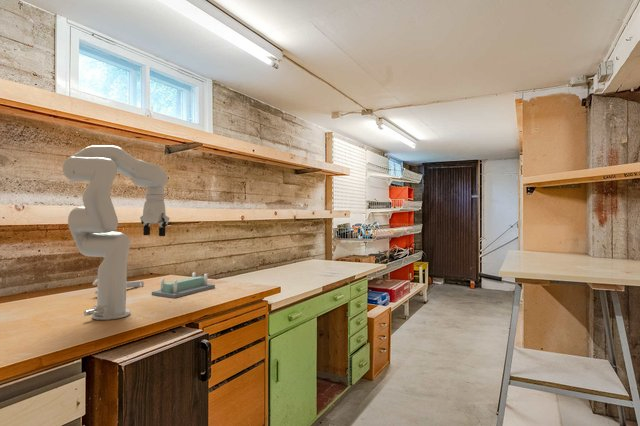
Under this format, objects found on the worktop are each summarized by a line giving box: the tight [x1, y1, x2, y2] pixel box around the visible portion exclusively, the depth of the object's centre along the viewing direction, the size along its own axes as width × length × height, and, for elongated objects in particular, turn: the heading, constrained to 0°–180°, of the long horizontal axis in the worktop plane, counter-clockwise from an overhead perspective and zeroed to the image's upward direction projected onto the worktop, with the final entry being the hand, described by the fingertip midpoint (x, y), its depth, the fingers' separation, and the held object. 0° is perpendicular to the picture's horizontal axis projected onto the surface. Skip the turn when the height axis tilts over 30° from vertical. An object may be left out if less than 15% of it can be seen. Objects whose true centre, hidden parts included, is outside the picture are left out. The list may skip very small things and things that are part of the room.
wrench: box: [92, 278, 145, 295], centre depth 183 cm, size 8×2×30 cm
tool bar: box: [163, 276, 204, 293], centre depth 186 cm, size 24×4×4 cm, turn 156°
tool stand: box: [151, 271, 216, 299], centre depth 186 cm, size 28×14×8 cm, turn 156°
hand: (154, 235), depth 173 cm, fingers open, 9 cm apart
